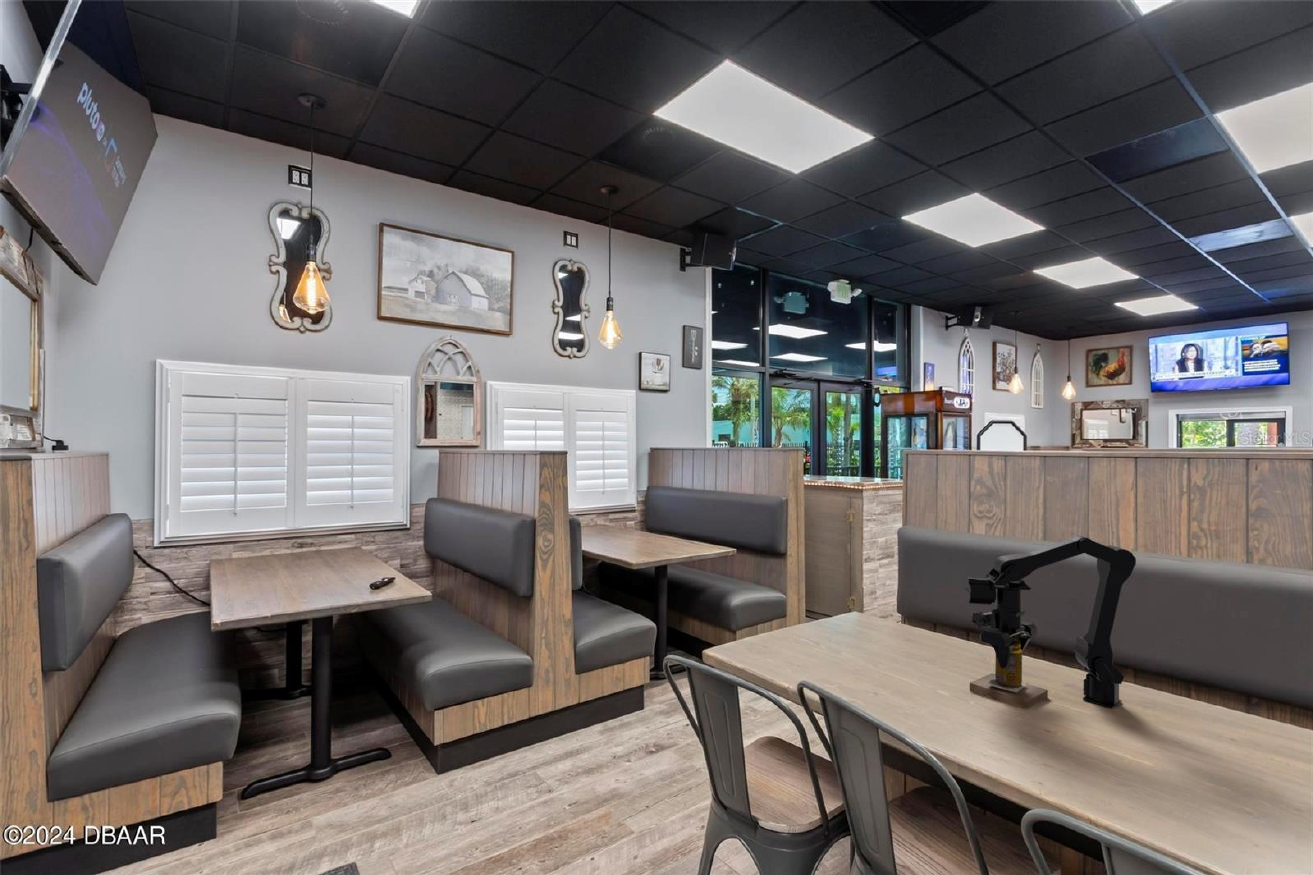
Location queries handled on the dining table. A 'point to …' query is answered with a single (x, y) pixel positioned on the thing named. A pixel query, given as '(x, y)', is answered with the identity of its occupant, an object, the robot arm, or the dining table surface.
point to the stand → (1009, 692)
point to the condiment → (1010, 670)
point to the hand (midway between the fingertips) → (1008, 665)
